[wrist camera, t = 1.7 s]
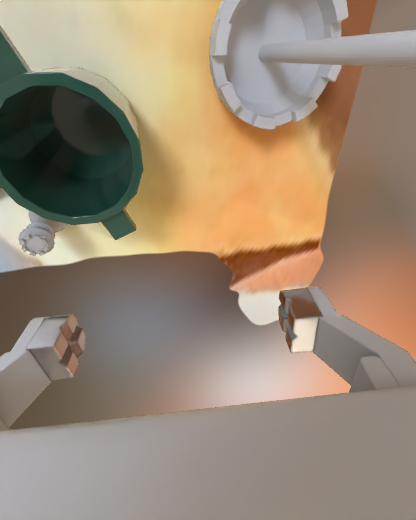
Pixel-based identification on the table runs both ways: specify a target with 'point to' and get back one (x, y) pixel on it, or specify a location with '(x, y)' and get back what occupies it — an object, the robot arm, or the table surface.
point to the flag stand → (290, 55)
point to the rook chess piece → (39, 234)
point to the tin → (67, 144)
